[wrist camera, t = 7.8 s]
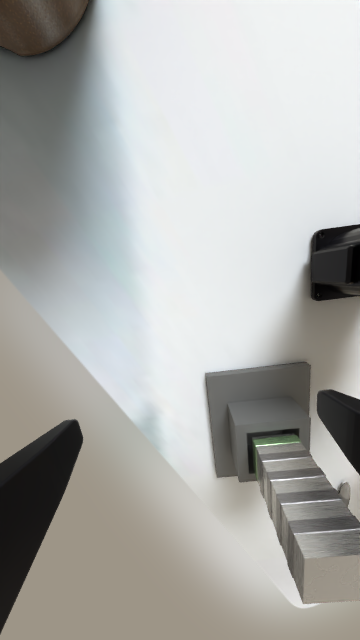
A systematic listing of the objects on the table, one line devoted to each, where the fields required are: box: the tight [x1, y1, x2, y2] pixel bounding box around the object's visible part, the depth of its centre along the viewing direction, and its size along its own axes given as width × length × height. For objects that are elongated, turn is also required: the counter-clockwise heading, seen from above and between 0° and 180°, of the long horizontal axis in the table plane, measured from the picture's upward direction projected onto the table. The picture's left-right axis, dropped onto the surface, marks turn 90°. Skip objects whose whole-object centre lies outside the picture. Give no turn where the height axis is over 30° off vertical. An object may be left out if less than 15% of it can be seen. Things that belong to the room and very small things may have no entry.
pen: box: [339, 483, 350, 508], centre depth 25 cm, size 1×14×1 cm, turn 2°
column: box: [252, 433, 360, 604], centre depth 14 cm, size 4×4×8 cm
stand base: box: [206, 362, 311, 482], centre depth 20 cm, size 11×14×5 cm
